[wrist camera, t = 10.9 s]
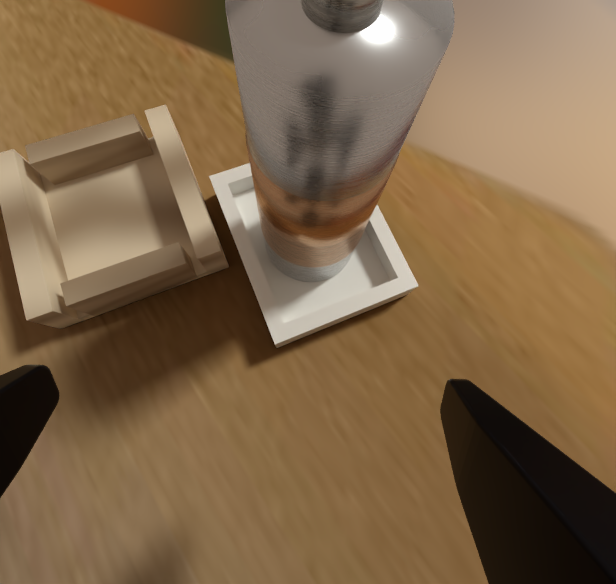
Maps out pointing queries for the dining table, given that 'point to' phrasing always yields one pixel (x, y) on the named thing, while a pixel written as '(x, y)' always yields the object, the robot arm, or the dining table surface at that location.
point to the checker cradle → (104, 219)
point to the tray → (311, 295)
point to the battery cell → (329, 114)
